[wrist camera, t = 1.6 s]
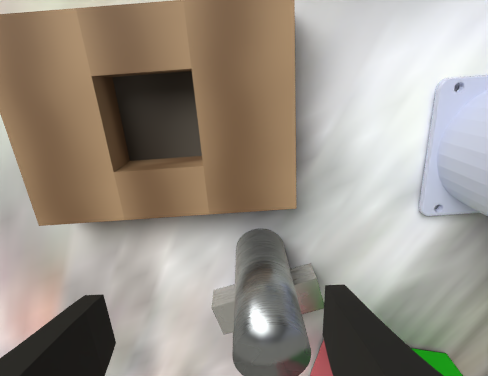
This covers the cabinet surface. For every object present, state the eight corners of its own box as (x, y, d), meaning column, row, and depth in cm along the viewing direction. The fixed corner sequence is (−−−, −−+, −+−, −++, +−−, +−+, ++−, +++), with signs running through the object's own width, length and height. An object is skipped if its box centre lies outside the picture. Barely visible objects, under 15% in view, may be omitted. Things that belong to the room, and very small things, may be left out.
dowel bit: (283, 227, 19) (311, 322, 11) (284, 268, 20) (310, 381, 12) (234, 230, 19) (229, 327, 11) (238, 271, 20) (235, 385, 12)
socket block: (285, 5, 15) (294, -9, 12) (289, 192, 18) (296, 208, 16) (10, 27, 15) (-33, 16, 13) (65, 207, 18) (38, 225, 16)
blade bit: (309, 260, 20) (316, 278, 18) (317, 287, 21) (325, 307, 19) (214, 287, 21) (211, 307, 19) (225, 312, 22) (223, 334, 20)
